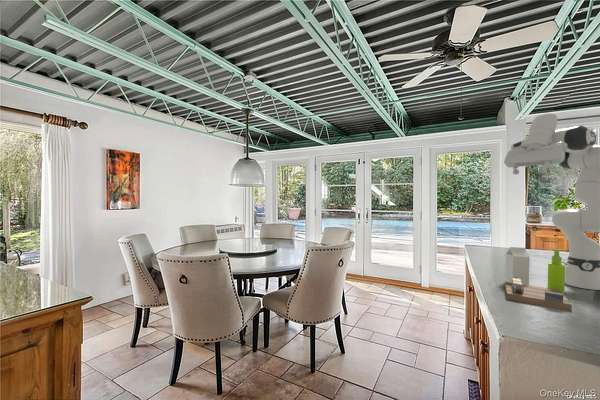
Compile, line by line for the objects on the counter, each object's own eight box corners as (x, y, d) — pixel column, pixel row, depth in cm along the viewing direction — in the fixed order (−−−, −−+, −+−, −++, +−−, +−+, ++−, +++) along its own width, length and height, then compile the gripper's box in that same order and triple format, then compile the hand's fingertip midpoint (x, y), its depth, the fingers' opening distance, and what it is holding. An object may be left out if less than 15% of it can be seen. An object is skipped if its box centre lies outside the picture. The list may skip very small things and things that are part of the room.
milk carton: (528, 287, 136) (529, 248, 136) (512, 286, 137) (513, 248, 137) (520, 283, 143) (521, 246, 143) (505, 281, 144) (505, 245, 144)
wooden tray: (505, 286, 135) (505, 275, 135) (560, 295, 124) (560, 283, 124) (507, 299, 117) (507, 286, 117) (571, 311, 106) (572, 296, 106)
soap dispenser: (569, 294, 125) (570, 251, 125) (549, 291, 129) (550, 249, 129) (565, 291, 130) (566, 249, 130) (546, 288, 134) (547, 247, 134)
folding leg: (523, 293, 117) (524, 286, 117) (513, 292, 119) (513, 284, 119) (520, 284, 130) (520, 277, 130) (511, 283, 132) (511, 276, 132)
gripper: (571, 145, 110) (563, 175, 107) (513, 153, 129) (505, 178, 126) (565, 136, 108) (556, 166, 105) (507, 145, 126) (498, 170, 123)
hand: (528, 172), depth 115 cm, fingers open, 8 cm apart
